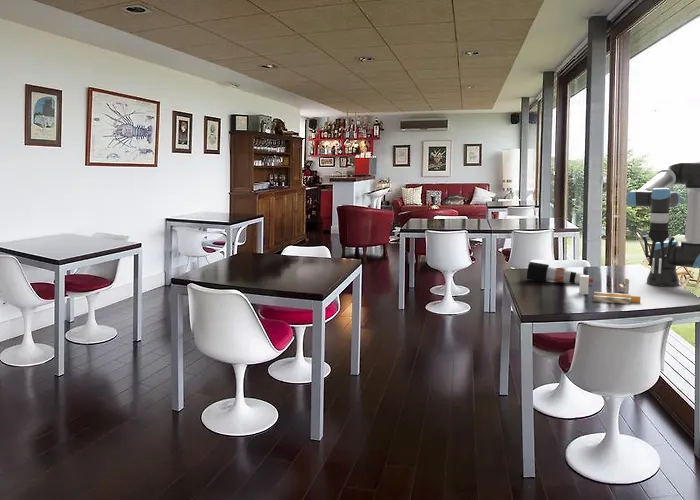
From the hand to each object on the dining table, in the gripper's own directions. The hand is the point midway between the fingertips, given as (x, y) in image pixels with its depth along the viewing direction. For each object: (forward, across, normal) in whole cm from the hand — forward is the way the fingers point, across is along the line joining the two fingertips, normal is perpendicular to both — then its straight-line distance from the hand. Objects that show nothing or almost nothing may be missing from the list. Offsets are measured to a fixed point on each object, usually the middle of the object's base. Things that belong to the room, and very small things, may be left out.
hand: (656, 272), depth 267 cm
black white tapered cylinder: (+15, +44, -34) cm, 57 cm away
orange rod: (+14, +14, 0) cm, 20 cm away
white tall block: (+14, +31, -11) cm, 36 cm away
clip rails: (+14, +18, 0) cm, 23 cm away
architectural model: (+15, +12, -20) cm, 28 cm away
